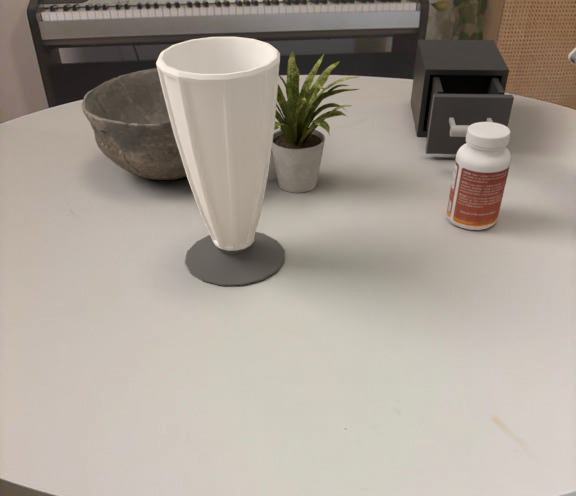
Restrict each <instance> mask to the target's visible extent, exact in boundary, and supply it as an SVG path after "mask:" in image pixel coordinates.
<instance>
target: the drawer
mask: <svg viewBox="0 0 576 496" xmlns="http://www.w3.org/2000/svg"><path fill="white" fill-rule="evenodd" d="M514 101H515V97H514V95H513V94H506V91H505V92H504V90H503V88H502V86H501V84H500V81H499V79H498V77H497V76H473V75H430V82H429V89H428V96H427V104H426V111H425V123H426V128H427V133H428V136H427V137H426V144H425V154H426V155H456V154H457V152H458V150H459V148H460V147H461V146H463V145H464V144H466V134H467V130H468V127H469V126H470V125H471V124H474V123H478V122H494V123H499V124H502V125H504V126H506V127H508V126H509V122H510V117H511V112H512V109H513V104H514ZM508 128H509V127H508Z"/></svg>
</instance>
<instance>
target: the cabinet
mask: <svg viewBox="0 0 576 496" xmlns="http://www.w3.org/2000/svg"><path fill="white" fill-rule="evenodd" d="M416 45H417V46H416V54H415V61H414V70H413V80H412V87H411V96H410V107H411V112H412V118H413V124H414V123H415V124H414V129H415V133H416V137H419V138H420V137H421V138H423V137H426V138H427V136H428V133H427V128H426V123H425V111H426V104H427V96H428V89H429V82H430V75H473V76H497V77H498V79H499V81H500V84H501V86H502V88H503V90H504V92H505V93H506V88H507V84H508V79H509V74H510V68H509V66H508V65H507V63H506V61H505V59H504V57H503V55H502V53H501V52H500V49H499V47H498V46H497V44H496V42H495V39H418V40H417V44H416Z"/></svg>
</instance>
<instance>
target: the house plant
mask: <svg viewBox="0 0 576 496" xmlns="http://www.w3.org/2000/svg"><path fill="white" fill-rule="evenodd" d="M324 56H325V53H323V54H322V55H321V56H320V57H319V59H318V60H317V61H316V62H315V64H314V66H313V67H312V68H311V70H310V71H309V73H308V75H307V76H306V77H305V80H304V82H303V84H302V87H301V89H300V70H299V67H298V66H297V65H298V64H297V63H296V56H295V54H294V50H292V51H291V52H290V54H289V57H288V60H287V66H286V67H287V68H286V81H285V79H284V78H283V76H282V75H280V74H279V76H278V78H280V80H281V81H282V83H283V86H284V88H285V94H286V97H287V98H286V97H285V95H284V92H283V91H282V88H281V86H280V84H279V83H278V90H277V103H276V114H275V126H274V133H273V141H272V149H271V154H272V156H273V157H272V158H273V163H274V168H275V173H276V179H277V184H278V187H279V188H280V189H281V190H283V191H285V192H289V193H295V194H297V193H298V194H299V193H300V194H301V193H306V192H309V191H312V190H314V189H315V188H316V187H317V184H318V179H319V173H320V168H321V163H322V158H323V153H324V147H325V142H326V137H325V135H324V133H323V132H321V131H320V130H317V128H318V127H320V128H322V129H324V130H325V131H326V132H327V133H328V136H329V137H330V128H331V127H330V125H329V123H328V122H327V121H325V120H326V119H330V118H335V117H339V116H345V117H347V114H345V113H344V112H343V111H341V110H340V109H343V110H345V108H347V107H352V106H353V105H351V104H342V105H340V104H338V103H335V102H329V103H325V104H323V105H321V103H322V101H323V100H324V99H326V98H329V97H332V96H334V95H337V94H340V93H345V92H353V91H359V88H340V87H349V86H350V84H339V83H341V82H344V81H348V80H353V79H358V78H359V76H348V77H344V78H340V79H338V80H335V81H332V83H329V84H328V85H327V86H325V87H324V85H325V84H326V82H327V81H328V79H329V77H330V74H331V72H332V71H333V70H334V69H335V68H336V67H337V66H338V65H339V63H340V62H341V60H338V61H336V62H334V63H331V64H330V65H329V66H327V67H326V68H325V69H324V70H323V71H322V72H321V74H319V76H318V77H317V79H316V80H315V77H316V75H317V73H318V70H319V67H320V66H321V63H322V62H323V59H324ZM314 80H315V82H314ZM338 88H340V89H338ZM286 99H287V100H286ZM320 105H321V106H320ZM329 108H333V109H331V110H329V111H326V112H324V113H322V114H320V113H321V112H322V111H324V110H326V109H329ZM345 111H346V113H348V111H347V110H345ZM318 115H319V116H318ZM276 120H277V121H276ZM275 130H276V131H275Z"/></svg>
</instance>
